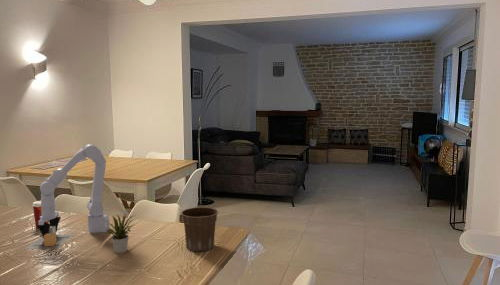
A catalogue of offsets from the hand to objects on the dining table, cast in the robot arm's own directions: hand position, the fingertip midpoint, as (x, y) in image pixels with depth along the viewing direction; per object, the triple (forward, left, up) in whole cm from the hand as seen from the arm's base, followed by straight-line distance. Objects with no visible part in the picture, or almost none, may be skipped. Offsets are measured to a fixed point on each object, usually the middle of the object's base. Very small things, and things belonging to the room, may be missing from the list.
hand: (50, 235), depth 180 cm
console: (-3, +5, -2) cm, 6 cm away
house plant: (-39, +13, -2) cm, 41 cm away
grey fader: (0, 0, -1) cm, 1 cm away
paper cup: (+12, -16, -2) cm, 20 cm away
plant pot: (-72, +9, -2) cm, 72 cm away
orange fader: (-5, +10, -1) cm, 11 cm away
